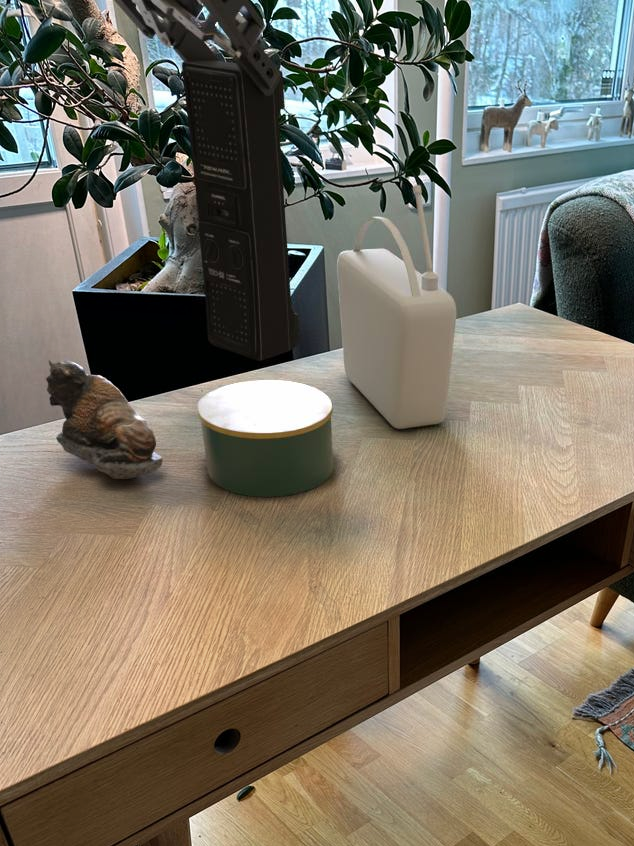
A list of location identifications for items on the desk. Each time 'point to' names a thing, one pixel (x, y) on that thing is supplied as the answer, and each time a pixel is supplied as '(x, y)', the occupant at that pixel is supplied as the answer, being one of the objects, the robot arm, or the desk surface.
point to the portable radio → (240, 209)
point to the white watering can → (396, 329)
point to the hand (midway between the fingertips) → (241, 80)
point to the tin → (267, 437)
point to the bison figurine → (101, 423)
